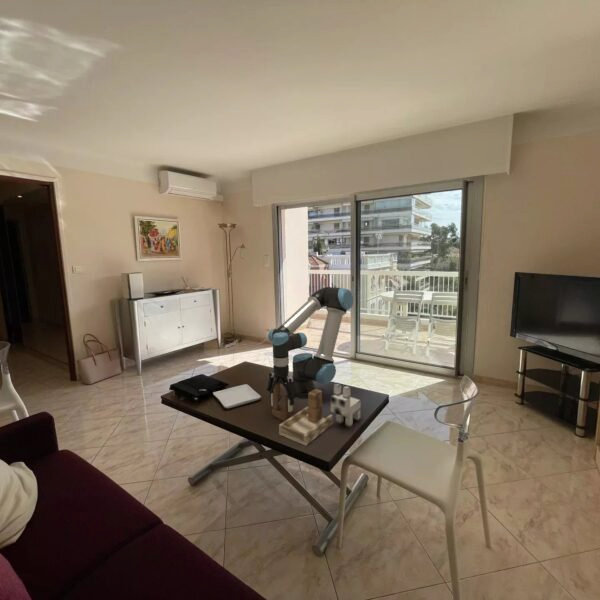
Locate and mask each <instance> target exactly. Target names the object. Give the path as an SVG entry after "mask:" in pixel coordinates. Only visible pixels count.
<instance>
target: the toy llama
mask: <svg viewBox="0 0 600 600" xmlns="http://www.w3.org/2000/svg"><path fill="white" fill-rule="evenodd" d="M361 400H362V399H359V398H357V397H354V396H351V386H348V385H344V386H343V387H342V383H339V382H336V383H334V384H333V395H331V396H330V413H333V414H336V418H335V419H336V421H335V422H336V423H337V424H340V425H341V424H342V423H345V424H344V425H345V427H347V428H351V427H353V424H354V423H353V422H354V420H355V421H360V420H361V413H362V412H361V411H362V410H361V405H362V402H361ZM344 417H345V419H344ZM359 419H360V420H359Z"/></svg>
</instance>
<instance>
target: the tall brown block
mask: <svg viewBox="0 0 600 600" xmlns="http://www.w3.org/2000/svg"><path fill="white" fill-rule="evenodd" d="M307 404H308V405H307V406H308V421H310V422H312V423H317V422H318V421H319V420H321V419H322V417H323V390H320V389H317V388H316V389H314V390H313V391H311V392H309V393H308V397H307Z"/></svg>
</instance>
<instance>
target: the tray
mask: <svg viewBox="0 0 600 600" xmlns="http://www.w3.org/2000/svg"><path fill="white" fill-rule="evenodd" d="M333 418H334V415H333V414H329V415H328V416H327V417H323V416H322V419H321V420H319V421H318V422H317V423H312V422H310V421H308V405H307V406H306V407H304V408H302V409H301V410H299V411H298V412H297V413H295V414H294V415H291V417H290V418H289V419H287V420H286V421H282V422H281V423H280V424H278V434H279V436H282V437H284V438H287V439H289V440H291V441H293V442H296V443H299V444H301V445H303V446H305V447H306V446H308V445H309V444H310V443H312V442H313V441H314V440H315V439H316V438H317V437H319V436H320V435H321V434H323V433H324V432H325V431H326V430H327V429H329V427H331V426H332V425H333V424H334V419H333Z"/></svg>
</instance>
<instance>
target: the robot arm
mask: <svg viewBox="0 0 600 600" xmlns="http://www.w3.org/2000/svg"><path fill="white" fill-rule="evenodd" d="M353 305H354V296H353V293H352V291H351V290H350V289H348V288H344V287H333V286H332V287H331V286H326V287H323V288H320V289H317V290H316V291H314V292H313V293H312V294H311V295H310V296H309V297H307V301H305V303H303V304H302V305H301V306H300V307H299V308H298V309H297V310H296V311H295V312H293V314H291V316H290V317H288V318H287V319H286V320H285V321H283V323H282V324H281V325H279V326H278V328H272V329H270V330H269V331H268V334H267V339H268V340H269V341H270V342H271V343H272V358H273V359H272V360H273V361H272V363H273V367H272V369H273V371H272V372H270V373H268V375H269V376H268V377H269V379H268V382H267V388H266V391H267V392H269V394H270V402H271V403H270V404H271V407H273V389H274V386H275V385H276V383H280V385H282V386H283V387H284V389H285V391H286V393H287V394H288V397H289V399H288V412H291V413H292V411H294V404H295V401H294V400H295V399H296V398H299V399H300V398H302V399H303V398H304V399H305V398H307V399H308V393H309V392H311V391H313V390H314V389H317V388H316V386H315V383H314V382H316V383H317V384H322V385H327V384H329V383H331V382H332V381H333V379H334V378H335V376H336V373H337V369H336V365H335V363H334V362H335V360H334V358H333V355H334V351H335V347H336V344H337V339H338V336H339V332H340V327H341V324H342V319H343V316H345V315H346V314H347V311H349V310H350V309H352V307H353ZM322 308H325V310H327V313H326V318H325V321H324V326H323V330H322V335H321V337H320V341H319V344H318V349H317V352H316V353H315V354H314V355H313V354H312V353H310V352H302V353H297V354H295V355H294V356H293V357H292V377H290V376H289V371H290V368H289V367H290V366H289V363H290V361H289V360H290V359H289V351H294V350H298V349H301V348H303V347H305V346H306V345H307V344H308V338H307V335H306V334H305V333H304V332H297V333H296V331H297V330H298V329H299V328H301V326H302V325H303V324H304V323H305V322H306V321H307V320H308V319H309V318H310V317H311V316H312V315H313V314H314V313H316V312H317V311H319V310H321V309H322ZM273 381H274V384H273ZM287 394H286V395H287Z"/></svg>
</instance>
